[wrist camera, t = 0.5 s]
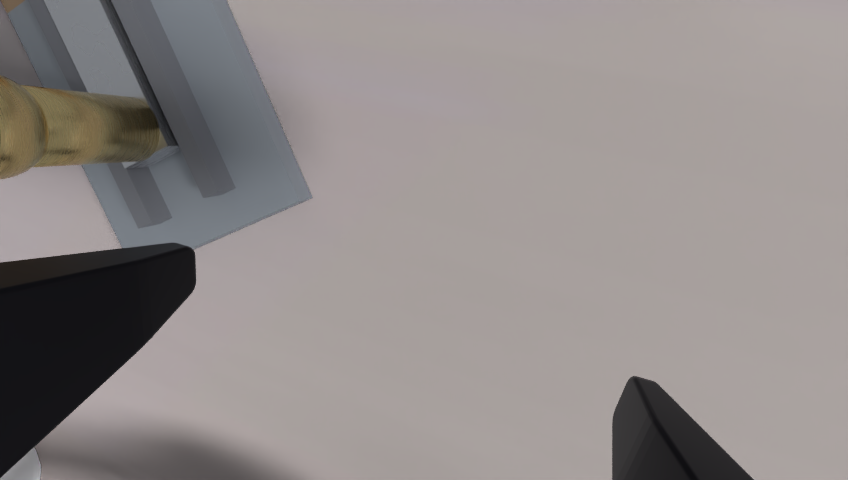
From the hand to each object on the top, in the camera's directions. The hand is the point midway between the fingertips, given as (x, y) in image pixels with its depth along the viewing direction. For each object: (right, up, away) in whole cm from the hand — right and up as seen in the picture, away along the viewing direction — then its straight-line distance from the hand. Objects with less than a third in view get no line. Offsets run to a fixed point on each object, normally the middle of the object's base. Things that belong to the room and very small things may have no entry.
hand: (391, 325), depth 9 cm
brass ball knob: (-15, +10, +16) cm, 24 cm away
